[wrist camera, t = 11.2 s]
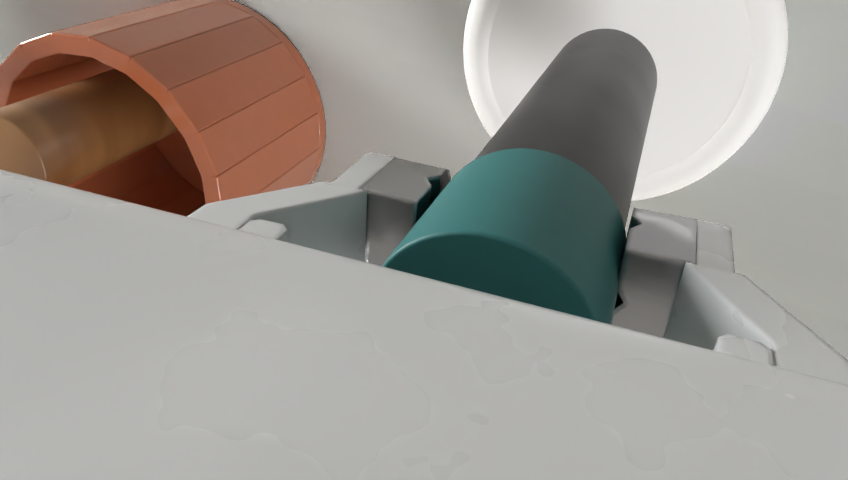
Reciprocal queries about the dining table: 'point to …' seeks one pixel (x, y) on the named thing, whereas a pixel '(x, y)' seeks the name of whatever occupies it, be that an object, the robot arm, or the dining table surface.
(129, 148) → the stick
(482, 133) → the dining table surface
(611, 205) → the marker
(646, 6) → the coaster
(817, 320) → the dining table surface
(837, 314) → the dining table surface
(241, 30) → the pen pot
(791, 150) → the dining table surface
